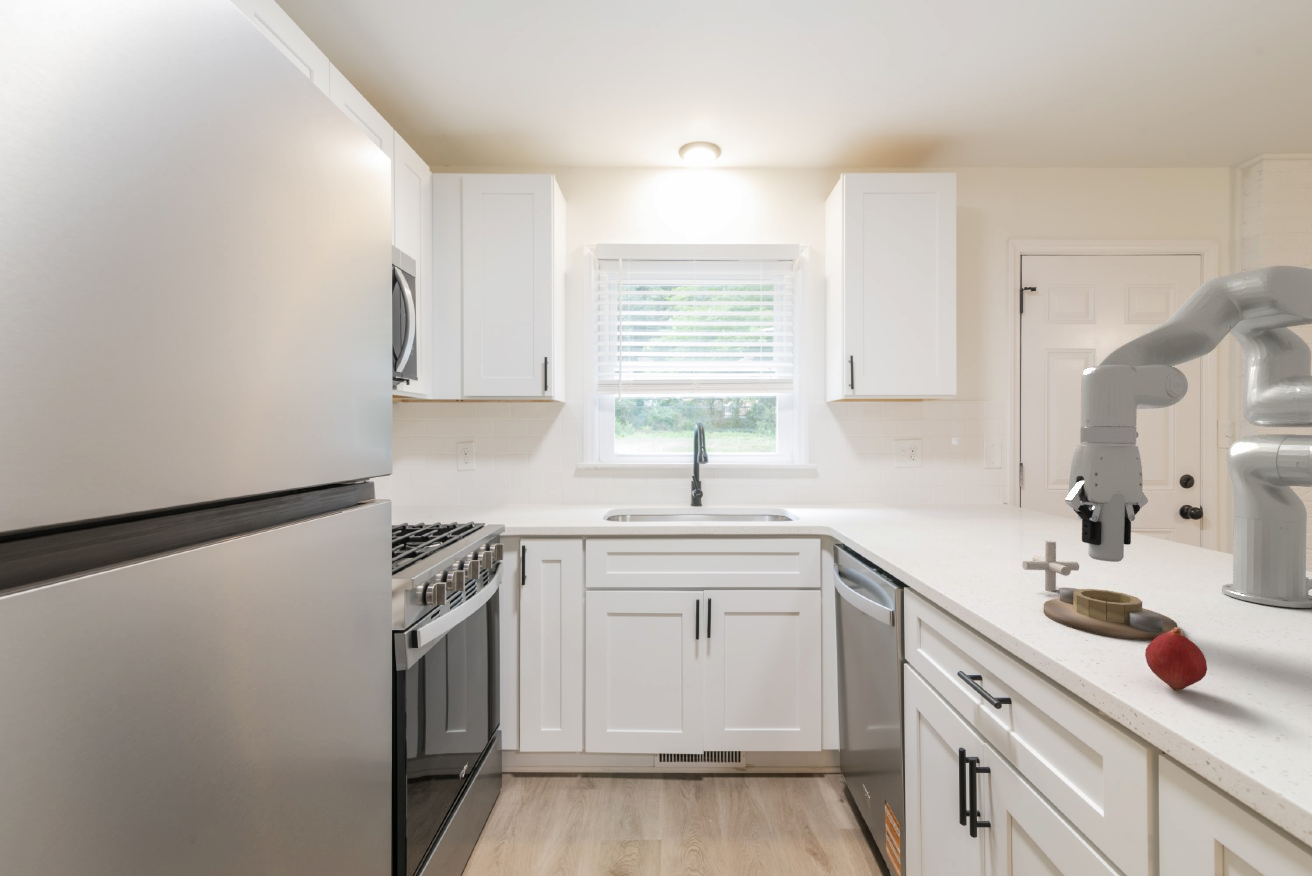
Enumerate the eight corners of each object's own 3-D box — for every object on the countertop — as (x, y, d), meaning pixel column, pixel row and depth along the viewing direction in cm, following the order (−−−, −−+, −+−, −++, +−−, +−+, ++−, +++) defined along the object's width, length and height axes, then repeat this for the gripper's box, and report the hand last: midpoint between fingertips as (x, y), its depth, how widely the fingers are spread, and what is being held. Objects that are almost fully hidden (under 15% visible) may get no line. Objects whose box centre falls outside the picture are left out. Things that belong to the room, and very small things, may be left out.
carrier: (1107, 602, 108) (1107, 580, 108) (1209, 637, 90) (1209, 611, 90) (1019, 606, 106) (1019, 584, 106) (1105, 642, 88) (1106, 616, 88)
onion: (1133, 680, 75) (1133, 620, 75) (1173, 678, 76) (1173, 618, 75) (1177, 701, 69) (1177, 636, 69) (1220, 698, 70) (1220, 634, 70)
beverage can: (1116, 557, 99) (1117, 488, 99) (1129, 563, 94) (1130, 491, 94) (1083, 555, 101) (1084, 487, 100) (1094, 561, 96) (1095, 490, 96)
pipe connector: (1061, 583, 121) (1061, 536, 121) (1092, 597, 111) (1092, 546, 111) (1011, 582, 122) (1011, 536, 122) (1038, 596, 112) (1038, 546, 112)
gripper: (1131, 437, 102) (1130, 538, 102) (1044, 437, 100) (1043, 540, 100) (1174, 438, 94) (1172, 547, 95) (1080, 437, 93) (1079, 548, 93)
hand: (1105, 542), depth 97 cm, fingers closed on beverage can, 4 cm apart
